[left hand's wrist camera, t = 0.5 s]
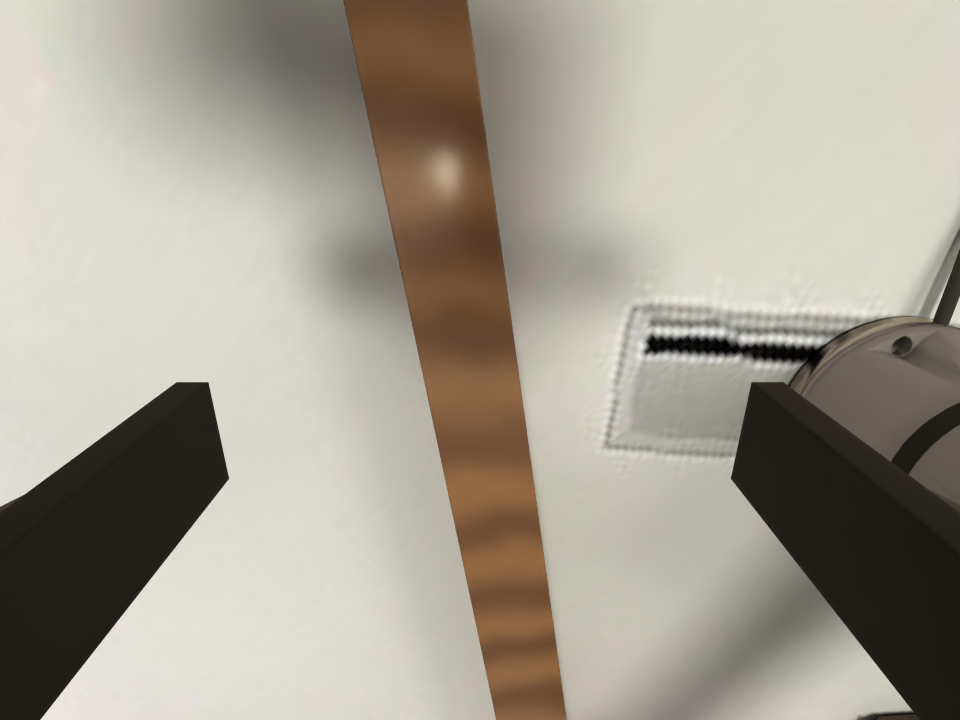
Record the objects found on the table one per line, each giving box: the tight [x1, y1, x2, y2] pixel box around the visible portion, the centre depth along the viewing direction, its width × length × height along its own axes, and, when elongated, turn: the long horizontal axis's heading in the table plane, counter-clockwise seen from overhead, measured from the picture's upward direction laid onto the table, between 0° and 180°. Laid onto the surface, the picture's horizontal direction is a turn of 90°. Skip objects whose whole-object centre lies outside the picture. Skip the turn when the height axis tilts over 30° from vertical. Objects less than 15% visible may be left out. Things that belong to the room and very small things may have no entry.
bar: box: [343, 0, 566, 720], centre depth 39 cm, size 82×6×8 cm, turn 9°
